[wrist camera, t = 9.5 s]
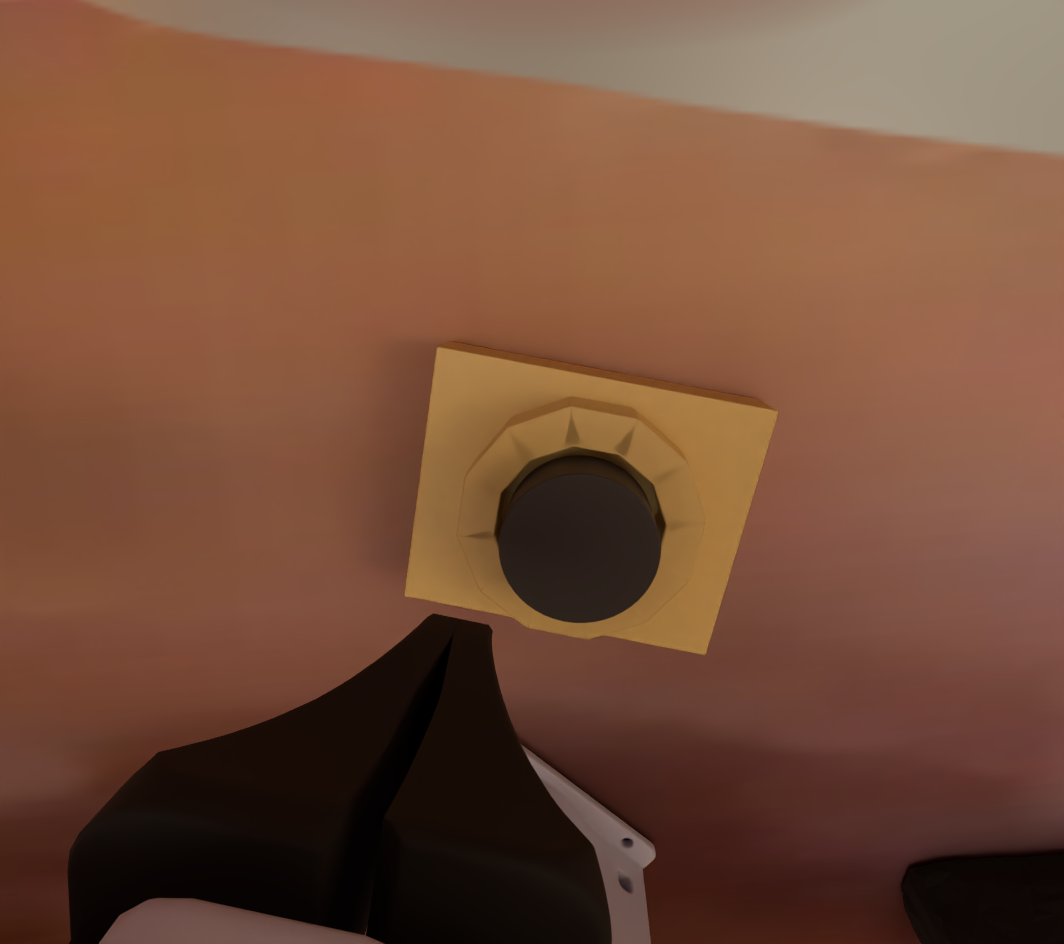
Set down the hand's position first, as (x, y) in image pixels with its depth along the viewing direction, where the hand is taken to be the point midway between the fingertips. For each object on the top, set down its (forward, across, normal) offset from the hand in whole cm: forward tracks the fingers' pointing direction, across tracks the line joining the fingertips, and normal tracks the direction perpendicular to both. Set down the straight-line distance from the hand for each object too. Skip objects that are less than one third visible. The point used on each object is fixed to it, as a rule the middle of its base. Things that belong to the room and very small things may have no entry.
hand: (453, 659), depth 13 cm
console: (+10, -2, -1) cm, 11 cm away
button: (+7, -2, -1) cm, 7 cm away
